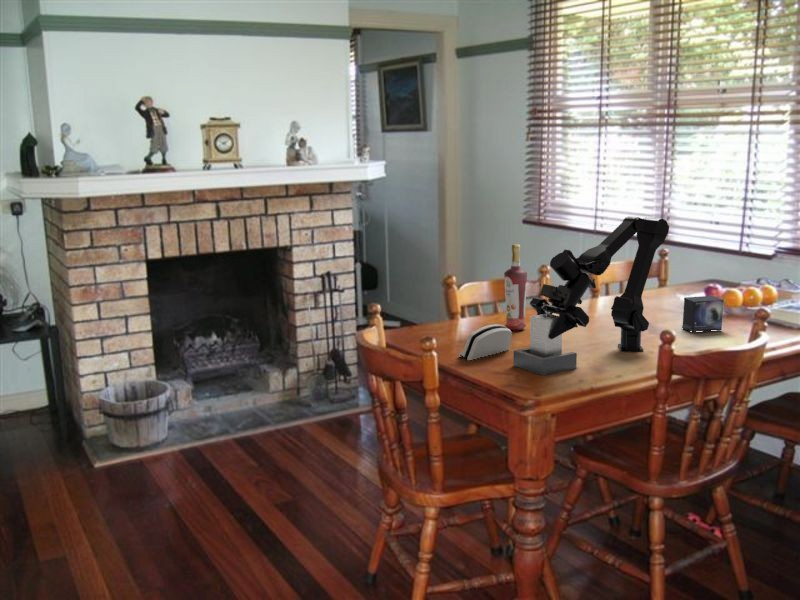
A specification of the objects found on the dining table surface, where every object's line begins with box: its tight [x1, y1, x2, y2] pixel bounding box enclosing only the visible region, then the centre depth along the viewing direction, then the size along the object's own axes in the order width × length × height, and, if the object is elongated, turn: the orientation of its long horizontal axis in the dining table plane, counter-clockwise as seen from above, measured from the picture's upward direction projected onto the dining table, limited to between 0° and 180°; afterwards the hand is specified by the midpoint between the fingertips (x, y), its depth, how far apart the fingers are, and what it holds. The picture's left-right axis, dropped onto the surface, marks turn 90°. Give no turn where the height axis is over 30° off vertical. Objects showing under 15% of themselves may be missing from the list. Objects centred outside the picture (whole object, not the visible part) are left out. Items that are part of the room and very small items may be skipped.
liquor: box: [503, 243, 528, 332], centre depth 262 cm, size 7×7×28 cm
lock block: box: [529, 313, 563, 358], centre depth 219 cm, size 6×6×12 cm
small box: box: [681, 295, 724, 332], centre depth 256 cm, size 11×6×10 cm, turn 102°
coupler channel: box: [513, 347, 578, 376], centre depth 220 cm, size 12×12×4 cm
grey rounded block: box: [458, 323, 513, 361], centre depth 234 cm, size 17×5×10 cm, turn 131°
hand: (542, 336), depth 218 cm, fingers closed on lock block, 6 cm apart
